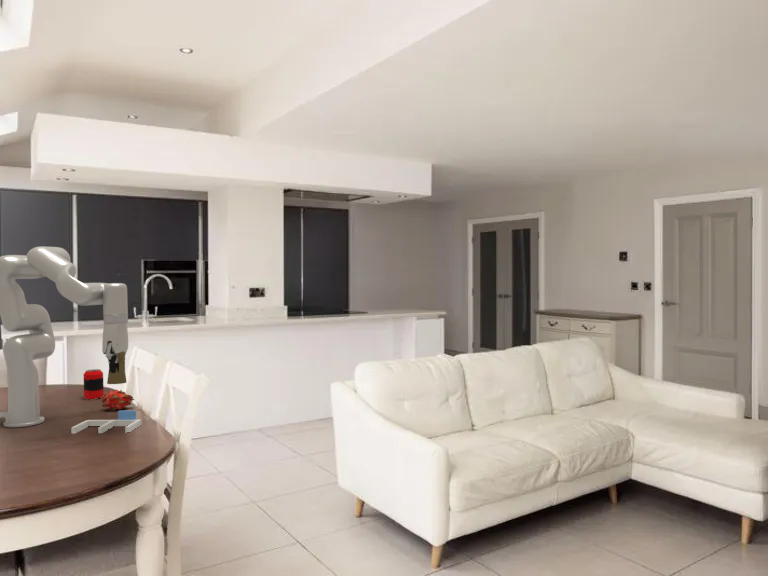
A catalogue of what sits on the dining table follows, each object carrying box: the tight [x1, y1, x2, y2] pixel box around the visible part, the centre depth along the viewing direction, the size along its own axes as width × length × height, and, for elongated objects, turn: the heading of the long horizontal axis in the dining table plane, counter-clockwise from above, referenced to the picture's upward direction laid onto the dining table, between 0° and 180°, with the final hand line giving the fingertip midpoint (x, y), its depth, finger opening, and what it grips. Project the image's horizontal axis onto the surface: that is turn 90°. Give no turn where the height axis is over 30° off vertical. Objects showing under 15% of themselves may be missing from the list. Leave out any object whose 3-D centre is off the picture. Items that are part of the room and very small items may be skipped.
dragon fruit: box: [100, 389, 135, 411], centre depth 236 cm, size 8×8×12 cm
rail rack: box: [70, 409, 142, 435], centre depth 206 cm, size 19×11×5 cm, turn 90°
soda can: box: [83, 368, 105, 399], centre depth 258 cm, size 8×8×12 cm
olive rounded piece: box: [106, 351, 127, 385], centre depth 204 cm, size 6×6×11 cm
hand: (117, 373), depth 204 cm, fingers closed on olive rounded piece, 3 cm apart
